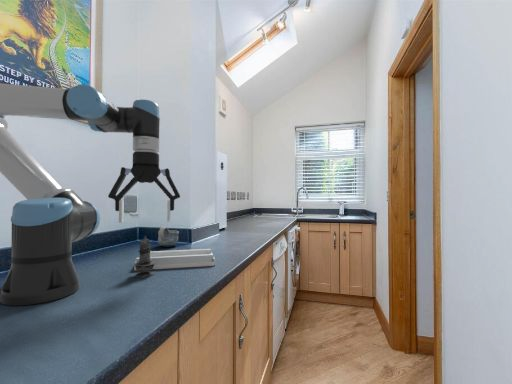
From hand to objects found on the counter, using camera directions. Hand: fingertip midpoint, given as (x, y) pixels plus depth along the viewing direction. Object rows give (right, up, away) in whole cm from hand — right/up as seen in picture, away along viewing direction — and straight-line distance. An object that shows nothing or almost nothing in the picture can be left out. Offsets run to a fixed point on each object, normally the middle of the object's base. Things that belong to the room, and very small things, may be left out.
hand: (145, 221), depth 83 cm
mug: (-8, -17, +44) cm, 48 cm away
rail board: (+6, -16, +14) cm, 22 cm away
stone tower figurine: (0, -16, 0) cm, 16 cm away
